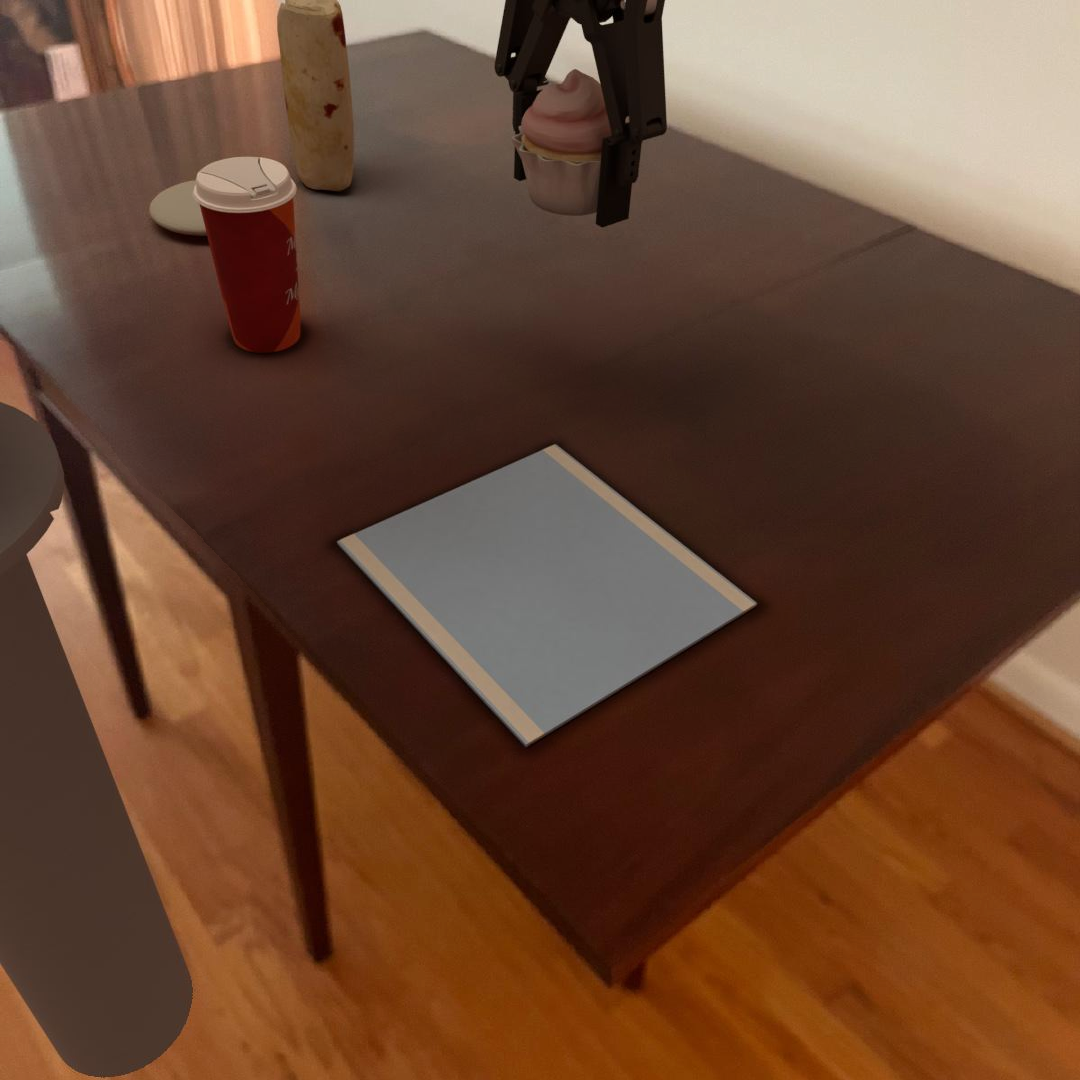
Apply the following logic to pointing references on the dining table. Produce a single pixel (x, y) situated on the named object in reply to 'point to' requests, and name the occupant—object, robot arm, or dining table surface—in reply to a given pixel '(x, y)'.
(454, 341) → the dining table surface
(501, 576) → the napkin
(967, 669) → the dining table surface
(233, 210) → the coffee cup
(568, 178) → the cupcake
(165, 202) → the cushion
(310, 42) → the food model
